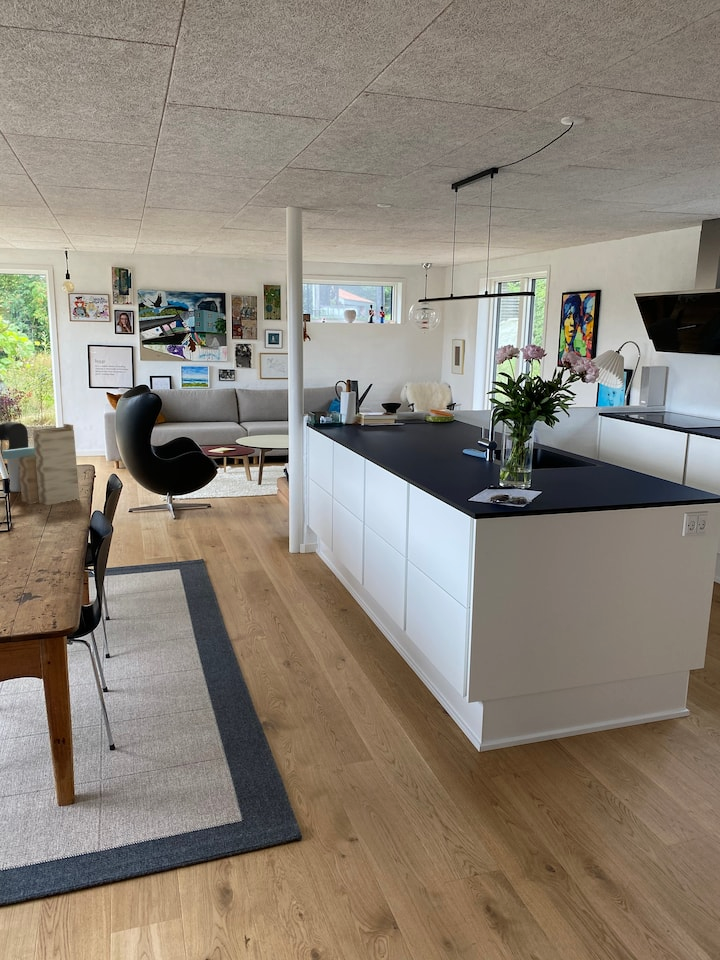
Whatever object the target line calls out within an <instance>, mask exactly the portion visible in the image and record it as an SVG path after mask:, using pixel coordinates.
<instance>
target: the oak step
mask: <svg viewBox="0 0 720 960" xmlns="http://www.w3.org/2000/svg"><path fill="white" fill-rule="evenodd" d="M18 464H19V474H20V485H21V495H20V496H21V501H22V502H25V503H27V504H30V505H31V504H35V503H39V494H38V483H37V472H36V461H35V456H28V457H20V458H18Z"/></svg>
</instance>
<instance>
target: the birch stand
mask: <svg viewBox="0 0 720 960" xmlns="http://www.w3.org/2000/svg"><path fill="white" fill-rule="evenodd" d="M32 436H33V437H32V438H33V445H34V446H33V447H34V450H35V461H36V472H37V483H38V494H39V502H38V503H40V504H43V505H45V506H51V505H57V504H62V503H61V502H63V503H67V502H66V501H69V502H71V501H70V500H74V499H79V500H80V490H79V479H78V477H79V476H78V467H77V466H78V465H77V454H76V453H77V452H76V439H75V430H74V424H69V423H63V426H59V427H51V428H49V427H48V428H40V429H34V430H33V432H32ZM74 501H75V500H74Z"/></svg>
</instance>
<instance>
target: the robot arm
mask: <svg viewBox="0 0 720 960" xmlns="http://www.w3.org/2000/svg"><path fill="white" fill-rule="evenodd" d="M0 441H8V448H7V449H6V450H11V449H19V448H28V447H29V431H28V429H27V426H25V424H23V423H22V422H17V421H16V422H15V421H8V422H3V423H0ZM6 465H7V473H9V475H8V480H9V479H10V485H9V490H10V489H11V491H10V492H11V493H14V492H15V493H19V492H21V485H20V474H19V464H18V458H12V459H6Z"/></svg>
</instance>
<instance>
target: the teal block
mask: <svg viewBox="0 0 720 960" xmlns="http://www.w3.org/2000/svg"><path fill="white" fill-rule="evenodd" d="M28 456H35V450H34V446H28V448H19V449H11V450H7V449H5V450H3V449H2V459H5V460H7V459H12V458H20V457H28Z"/></svg>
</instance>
